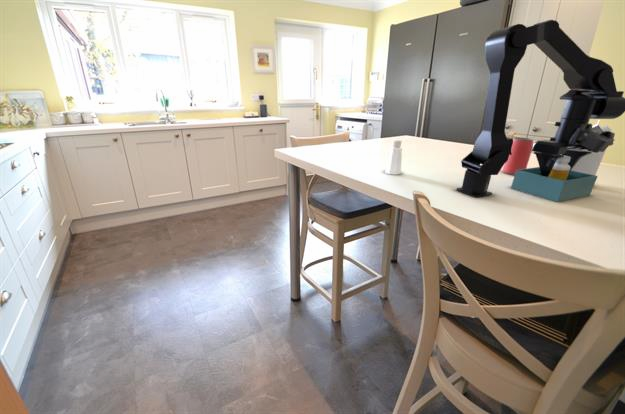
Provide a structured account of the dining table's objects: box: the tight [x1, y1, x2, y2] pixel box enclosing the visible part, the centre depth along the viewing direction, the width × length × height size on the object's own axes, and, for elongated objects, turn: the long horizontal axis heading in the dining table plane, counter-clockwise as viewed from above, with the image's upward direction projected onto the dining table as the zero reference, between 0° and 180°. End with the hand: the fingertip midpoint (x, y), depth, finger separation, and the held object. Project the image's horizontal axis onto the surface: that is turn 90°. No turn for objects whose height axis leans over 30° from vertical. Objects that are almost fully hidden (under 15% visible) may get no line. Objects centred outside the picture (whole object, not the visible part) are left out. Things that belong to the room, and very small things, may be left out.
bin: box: [510, 166, 598, 203], centre depth 80 cm, size 15×12×6 cm
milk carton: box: [571, 119, 613, 176], centre depth 85 cm, size 7×7×19 cm
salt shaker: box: [384, 139, 403, 176], centre depth 95 cm, size 5×5×11 cm
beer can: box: [502, 136, 534, 176], centre depth 97 cm, size 7×7×12 cm
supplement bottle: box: [548, 156, 571, 181], centre depth 79 cm, size 5×5×10 cm
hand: (554, 176), depth 79 cm, fingers open, 9 cm apart
